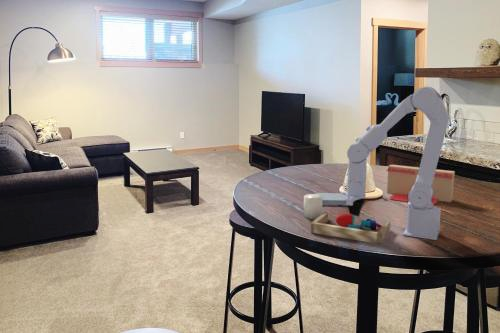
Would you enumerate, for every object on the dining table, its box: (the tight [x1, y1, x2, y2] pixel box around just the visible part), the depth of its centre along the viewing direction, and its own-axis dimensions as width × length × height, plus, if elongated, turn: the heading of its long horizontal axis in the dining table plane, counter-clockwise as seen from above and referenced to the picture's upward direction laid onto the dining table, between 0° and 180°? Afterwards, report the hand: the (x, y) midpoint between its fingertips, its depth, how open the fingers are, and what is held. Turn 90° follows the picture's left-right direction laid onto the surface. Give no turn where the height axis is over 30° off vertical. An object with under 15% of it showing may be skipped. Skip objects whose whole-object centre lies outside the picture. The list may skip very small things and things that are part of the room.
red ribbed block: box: [386, 164, 456, 206], centre depth 168 cm, size 25×13×12 cm, turn 54°
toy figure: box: [335, 213, 383, 232], centre depth 137 cm, size 8×5×15 cm
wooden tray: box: [310, 211, 391, 245], centre depth 135 cm, size 21×13×3 cm, turn 61°
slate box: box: [315, 192, 348, 207], centre depth 168 cm, size 14×10×2 cm
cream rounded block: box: [303, 193, 323, 220], centre depth 151 cm, size 6×6×7 cm
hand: (354, 220), depth 141 cm, fingers closed, pressing on toy figure
